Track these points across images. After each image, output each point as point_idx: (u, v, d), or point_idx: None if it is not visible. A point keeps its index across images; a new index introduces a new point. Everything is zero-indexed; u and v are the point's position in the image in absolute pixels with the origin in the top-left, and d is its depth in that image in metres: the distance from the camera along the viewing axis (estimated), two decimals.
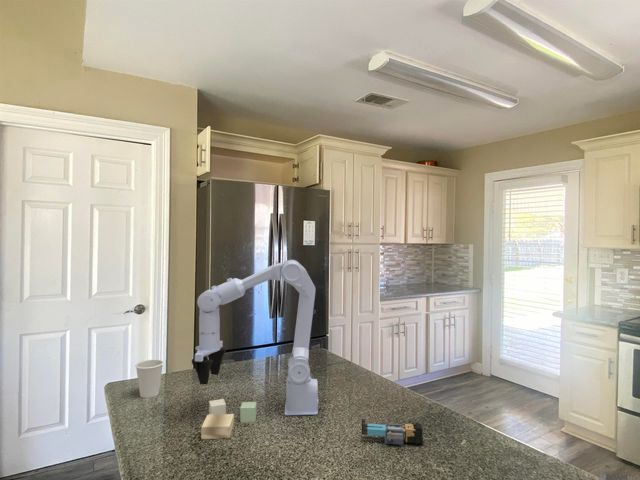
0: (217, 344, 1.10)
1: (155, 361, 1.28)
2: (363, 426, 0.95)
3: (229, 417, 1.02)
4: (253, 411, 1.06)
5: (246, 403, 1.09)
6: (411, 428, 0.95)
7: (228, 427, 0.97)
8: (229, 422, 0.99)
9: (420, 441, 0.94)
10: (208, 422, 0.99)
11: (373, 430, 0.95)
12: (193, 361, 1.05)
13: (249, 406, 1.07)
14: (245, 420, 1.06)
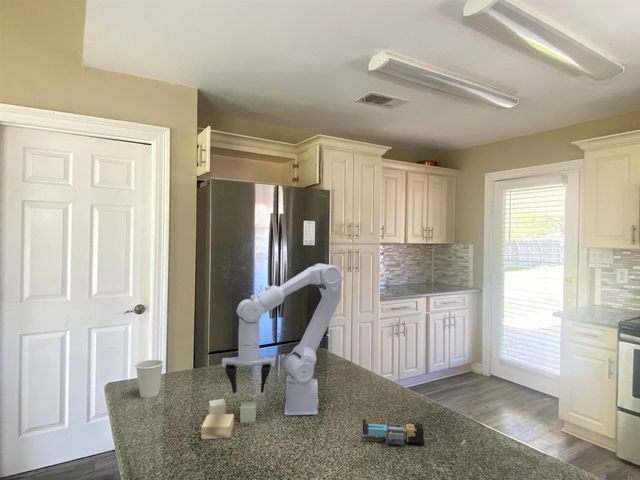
0: (244, 357, 1.05)
1: (155, 361, 1.28)
2: (364, 426, 0.95)
3: (229, 417, 1.02)
4: (253, 411, 1.06)
5: (246, 403, 1.09)
6: (412, 428, 0.95)
7: (228, 427, 0.97)
8: (229, 422, 0.99)
9: (421, 441, 0.94)
10: (208, 422, 0.99)
11: (374, 430, 0.95)
12: None
13: (249, 406, 1.07)
14: (245, 420, 1.06)
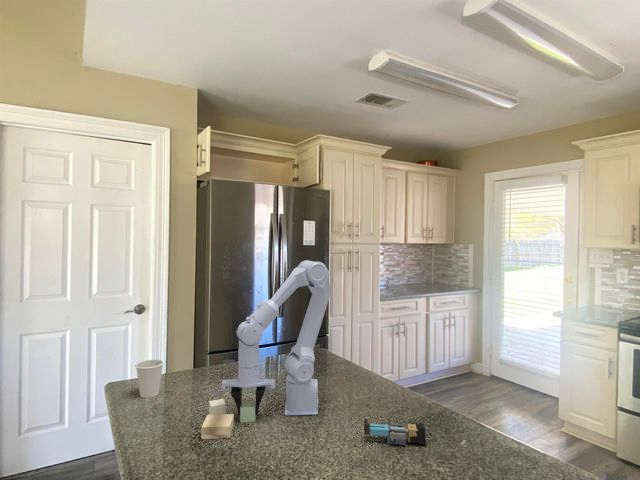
0: (244, 380, 1.05)
1: (155, 361, 1.28)
2: (366, 426, 0.96)
3: (229, 417, 1.02)
4: (253, 411, 1.06)
5: (246, 403, 1.09)
6: (414, 428, 0.95)
7: (228, 427, 0.97)
8: (229, 422, 0.99)
9: (423, 441, 0.94)
10: (208, 422, 0.99)
11: (376, 430, 0.95)
12: None
13: (249, 406, 1.07)
14: (245, 420, 1.06)
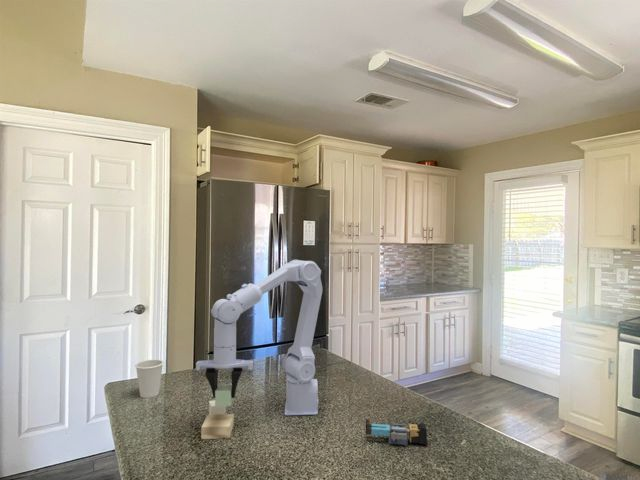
0: (219, 360, 0.99)
1: (155, 361, 1.28)
2: (367, 426, 0.96)
3: (229, 417, 1.02)
4: (229, 394, 1.00)
5: (222, 386, 1.03)
6: (415, 428, 0.95)
7: (228, 427, 0.97)
8: (229, 422, 0.99)
9: (424, 441, 0.94)
10: (208, 422, 0.99)
11: (377, 430, 0.95)
12: None
13: (225, 389, 1.01)
14: (220, 404, 1.00)
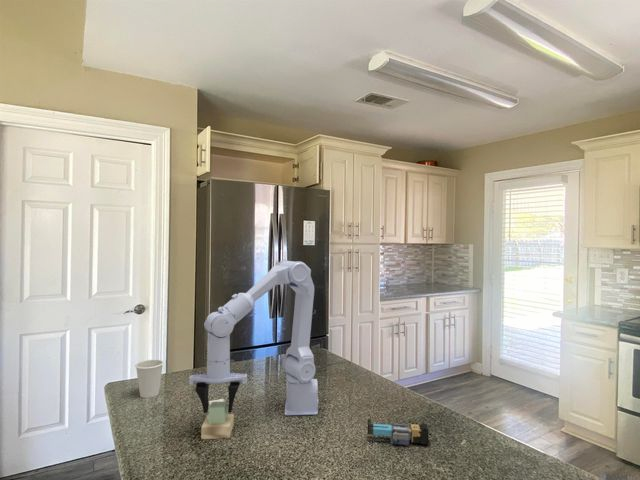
0: (213, 375, 0.97)
1: (155, 361, 1.28)
2: (369, 426, 0.96)
3: (229, 417, 1.02)
4: (222, 412, 0.98)
5: (216, 403, 1.01)
6: (417, 428, 0.94)
7: (228, 427, 0.97)
8: (229, 422, 0.99)
9: (426, 441, 0.93)
10: (208, 422, 0.99)
11: (379, 430, 0.95)
12: None
13: (218, 406, 0.99)
14: (214, 421, 0.98)
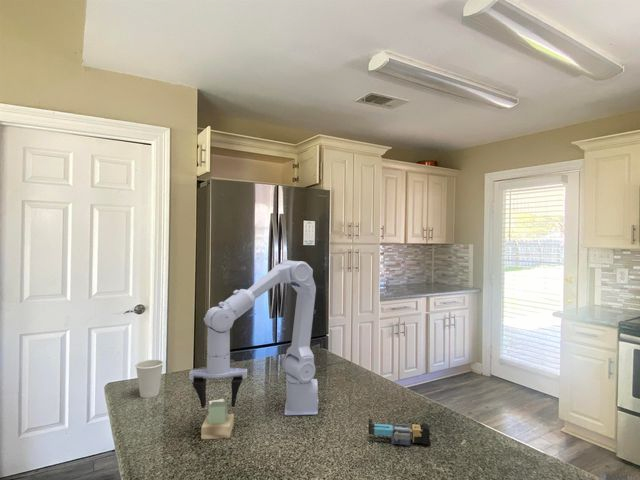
0: (213, 370, 0.97)
1: (155, 361, 1.28)
2: (370, 426, 0.96)
3: (229, 417, 1.02)
4: (222, 412, 0.98)
5: (216, 403, 1.01)
6: (418, 428, 0.94)
7: (228, 427, 0.97)
8: (229, 422, 0.99)
9: (427, 442, 0.93)
10: (208, 422, 0.99)
11: (380, 430, 0.95)
12: None
13: (218, 406, 0.99)
14: (214, 421, 0.98)
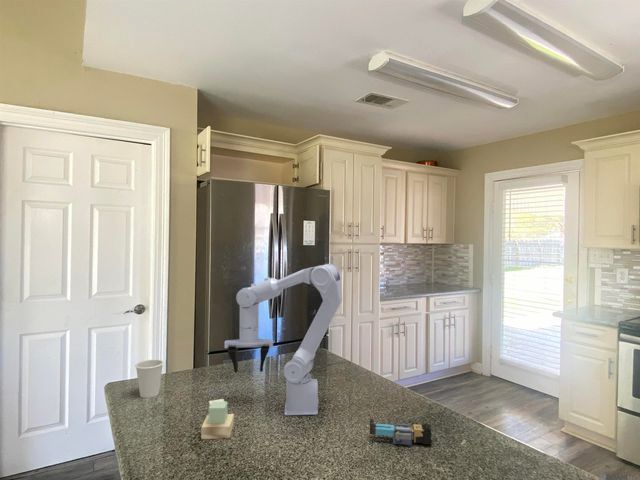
0: (245, 339, 1.15)
1: (155, 361, 1.28)
2: (371, 426, 0.96)
3: (229, 417, 1.02)
4: (222, 412, 0.98)
5: (216, 403, 1.01)
6: (419, 428, 0.94)
7: (228, 427, 0.97)
8: (229, 422, 0.99)
9: (429, 442, 0.93)
10: (208, 422, 0.99)
11: (381, 430, 0.95)
12: None
13: (218, 406, 0.99)
14: (214, 421, 0.98)
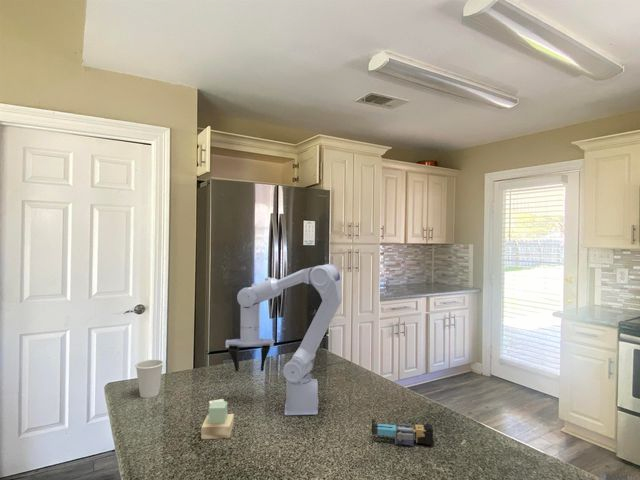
0: (246, 339, 1.16)
1: (155, 361, 1.28)
2: (373, 426, 0.96)
3: (229, 417, 1.02)
4: (222, 412, 0.98)
5: (216, 403, 1.01)
6: (421, 429, 0.94)
7: (228, 427, 0.97)
8: (229, 422, 0.99)
9: (430, 442, 0.93)
10: (208, 422, 0.99)
11: (383, 430, 0.95)
12: None
13: (218, 406, 0.99)
14: (214, 421, 0.98)
